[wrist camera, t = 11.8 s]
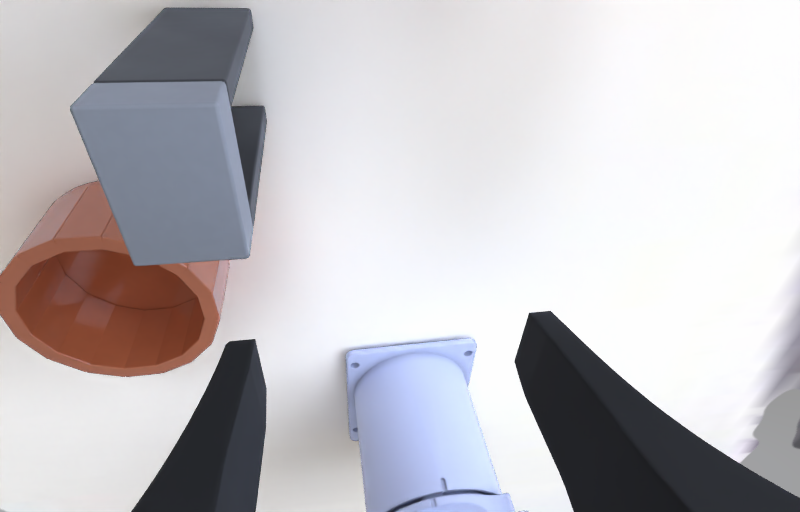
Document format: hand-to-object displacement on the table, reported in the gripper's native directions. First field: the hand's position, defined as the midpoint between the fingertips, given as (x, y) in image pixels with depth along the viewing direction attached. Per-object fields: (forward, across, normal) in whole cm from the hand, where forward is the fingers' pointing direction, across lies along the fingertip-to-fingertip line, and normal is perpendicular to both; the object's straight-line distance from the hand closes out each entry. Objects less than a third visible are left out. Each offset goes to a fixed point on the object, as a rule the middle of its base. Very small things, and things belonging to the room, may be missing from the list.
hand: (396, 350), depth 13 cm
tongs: (+10, +5, -4) cm, 12 cm away
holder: (+10, +10, +4) cm, 15 cm away
